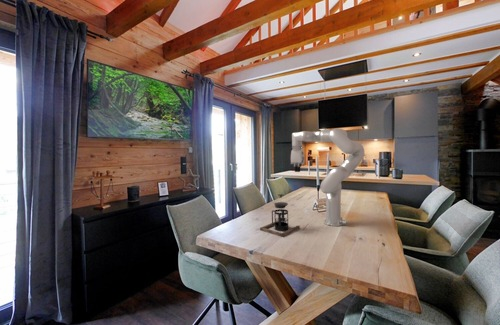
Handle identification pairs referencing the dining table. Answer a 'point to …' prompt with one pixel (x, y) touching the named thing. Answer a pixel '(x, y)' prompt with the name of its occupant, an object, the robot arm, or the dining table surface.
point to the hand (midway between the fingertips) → (297, 171)
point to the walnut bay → (277, 232)
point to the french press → (280, 216)
